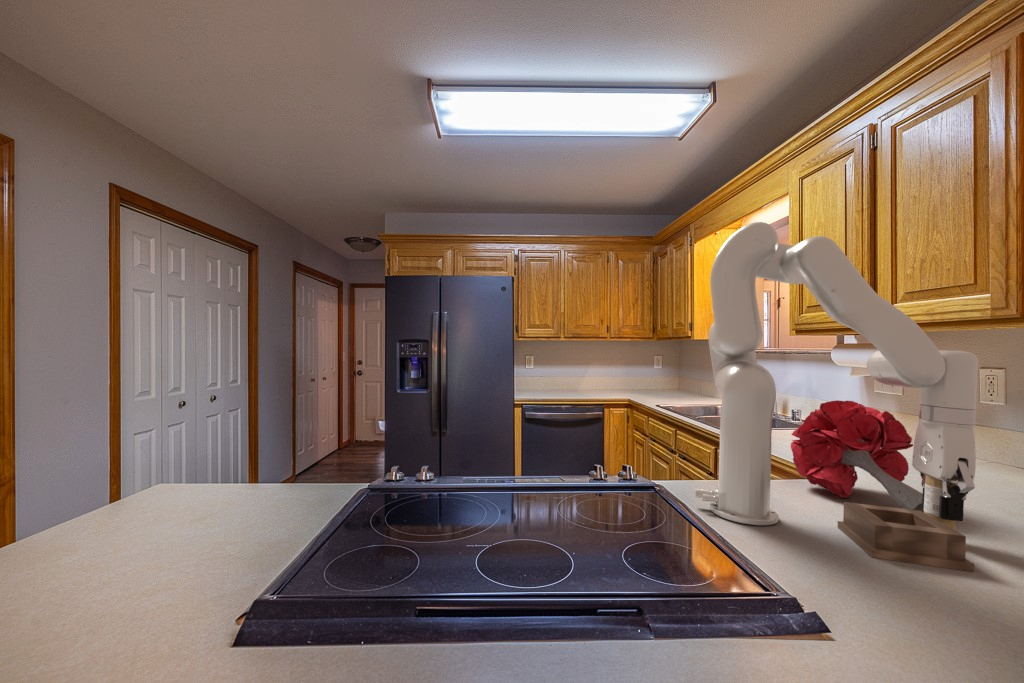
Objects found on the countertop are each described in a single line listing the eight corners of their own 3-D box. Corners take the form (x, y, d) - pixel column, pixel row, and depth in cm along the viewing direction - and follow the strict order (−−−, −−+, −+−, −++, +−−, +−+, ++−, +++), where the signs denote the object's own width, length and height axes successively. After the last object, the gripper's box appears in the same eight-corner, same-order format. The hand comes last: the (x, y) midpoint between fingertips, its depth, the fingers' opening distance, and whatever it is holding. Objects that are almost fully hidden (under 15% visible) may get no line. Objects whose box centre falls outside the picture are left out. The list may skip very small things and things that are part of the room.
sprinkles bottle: (958, 534, 82) (962, 461, 82) (951, 538, 79) (955, 463, 80) (925, 525, 86) (929, 455, 86) (918, 529, 83) (921, 457, 83)
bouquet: (933, 537, 101) (827, 447, 127) (996, 460, 90) (865, 378, 115) (857, 550, 96) (762, 453, 122) (914, 470, 85) (796, 382, 111)
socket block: (871, 557, 74) (872, 525, 74) (837, 527, 87) (838, 500, 87) (973, 571, 70) (974, 538, 70) (922, 538, 83) (922, 510, 83)
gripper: (897, 409, 92) (892, 497, 92) (951, 420, 76) (946, 528, 76) (942, 413, 90) (937, 503, 90) (1007, 425, 74) (1002, 536, 73)
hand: (941, 513), depth 83 cm, fingers closed on sprinkles bottle, 4 cm apart
